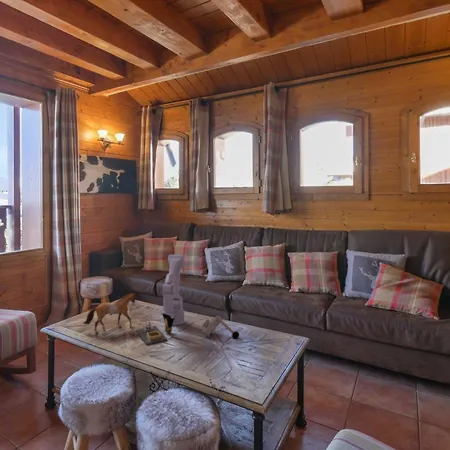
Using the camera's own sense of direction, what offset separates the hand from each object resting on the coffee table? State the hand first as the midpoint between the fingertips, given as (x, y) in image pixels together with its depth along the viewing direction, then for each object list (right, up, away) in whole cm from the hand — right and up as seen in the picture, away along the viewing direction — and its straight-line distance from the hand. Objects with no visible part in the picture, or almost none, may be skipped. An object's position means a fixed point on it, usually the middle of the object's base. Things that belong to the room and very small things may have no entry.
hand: (168, 326), depth 191 cm
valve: (+31, -6, -2) cm, 32 cm away
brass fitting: (0, -3, 0) cm, 3 cm away
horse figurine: (-37, -4, +7) cm, 38 cm away
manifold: (-10, -5, -3) cm, 11 cm away
